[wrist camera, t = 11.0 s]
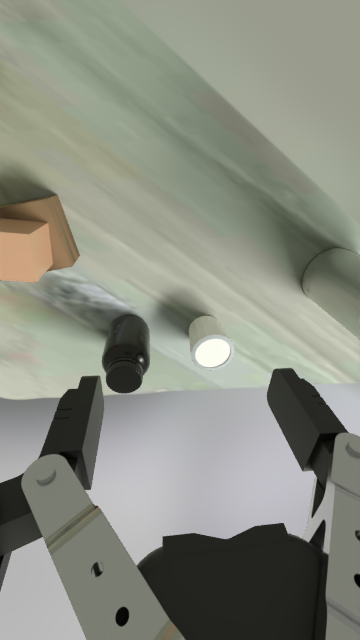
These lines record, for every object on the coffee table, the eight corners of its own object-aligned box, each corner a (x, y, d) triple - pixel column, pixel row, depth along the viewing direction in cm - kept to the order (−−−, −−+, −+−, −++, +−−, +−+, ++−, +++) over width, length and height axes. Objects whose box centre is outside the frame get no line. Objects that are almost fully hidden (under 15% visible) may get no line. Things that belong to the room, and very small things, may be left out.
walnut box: (58, 194, 35) (45, 199, 30) (80, 254, 39) (72, 266, 34) (-4, 206, 34) (-25, 212, 30) (25, 265, 39) (10, 278, 34)
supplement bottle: (107, 313, 44) (95, 360, 33) (149, 313, 44) (151, 359, 34) (109, 347, 47) (99, 400, 37) (149, 347, 48) (150, 398, 38)
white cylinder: (176, 329, 47) (181, 354, 41) (207, 304, 45) (217, 326, 39) (201, 351, 50) (209, 377, 44) (231, 329, 48) (243, 353, 42)
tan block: (48, 222, 32) (29, 234, 26) (53, 264, 34) (36, 282, 29) (1, 218, 31) (-28, 229, 26) (9, 260, 33) (-15, 278, 28)
